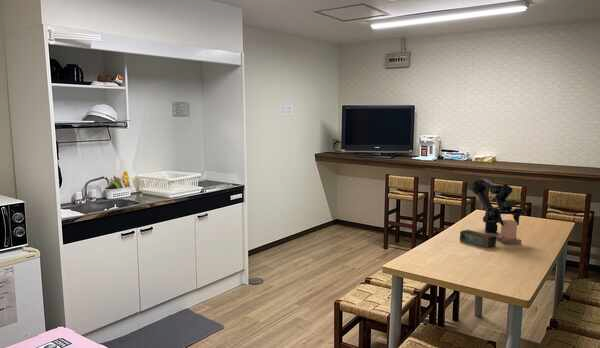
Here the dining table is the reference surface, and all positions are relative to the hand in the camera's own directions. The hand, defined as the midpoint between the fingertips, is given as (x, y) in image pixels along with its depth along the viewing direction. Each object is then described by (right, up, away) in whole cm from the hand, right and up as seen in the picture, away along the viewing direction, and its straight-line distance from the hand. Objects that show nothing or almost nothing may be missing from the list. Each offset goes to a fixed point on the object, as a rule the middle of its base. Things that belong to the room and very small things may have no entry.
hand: (510, 225), depth 261 cm
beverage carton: (-19, -11, 0) cm, 22 cm away
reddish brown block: (0, -8, +2) cm, 8 cm away
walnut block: (0, -11, +3) cm, 11 cm away
